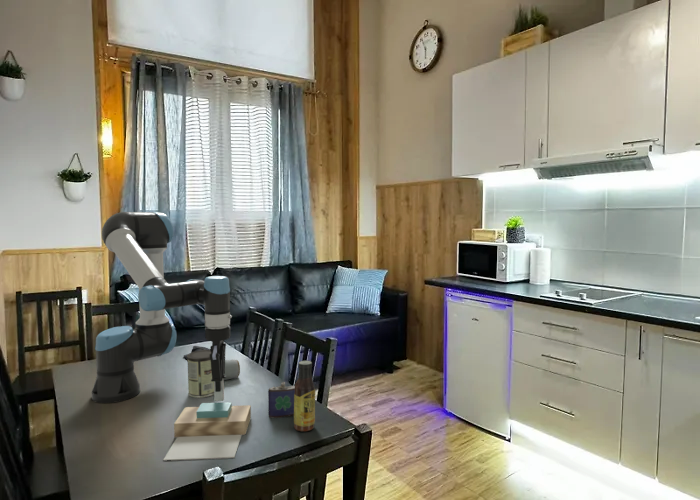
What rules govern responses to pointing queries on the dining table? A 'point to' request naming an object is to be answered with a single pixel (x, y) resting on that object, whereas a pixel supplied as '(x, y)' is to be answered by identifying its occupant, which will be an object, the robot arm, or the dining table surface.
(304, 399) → the sauce bottle
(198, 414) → the teal rectangular block
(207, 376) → the coffee can
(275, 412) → the flask
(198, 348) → the dark slate chunk
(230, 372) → the ceramic mug
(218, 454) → the mat
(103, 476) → the dining table surface
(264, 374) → the dining table surface
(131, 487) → the dining table surface
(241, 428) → the tan flat rectangular slab
